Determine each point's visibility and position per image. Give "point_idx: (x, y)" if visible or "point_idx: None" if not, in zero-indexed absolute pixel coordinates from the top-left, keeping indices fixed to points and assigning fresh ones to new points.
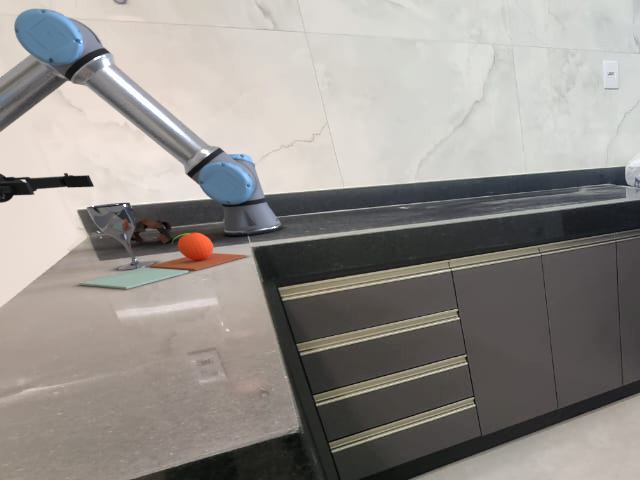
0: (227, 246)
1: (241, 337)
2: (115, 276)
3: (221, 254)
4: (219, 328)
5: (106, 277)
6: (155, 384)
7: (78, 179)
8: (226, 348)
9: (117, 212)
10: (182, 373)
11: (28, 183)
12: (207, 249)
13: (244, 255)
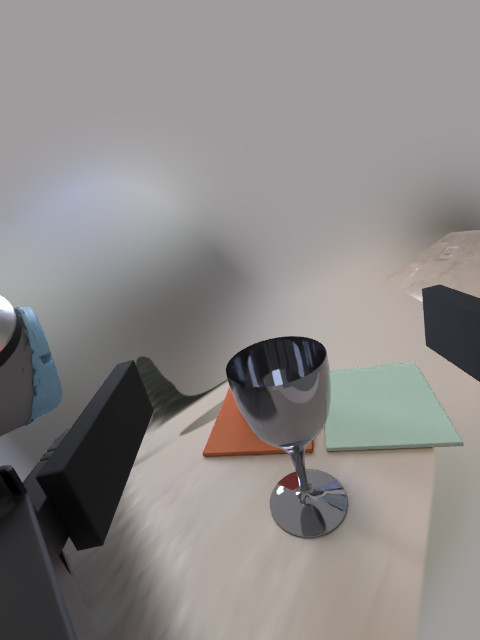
0: None
1: (418, 263)
2: (394, 427)
3: (223, 411)
4: (418, 271)
5: (408, 435)
6: (474, 248)
7: (124, 406)
8: (431, 258)
9: (292, 351)
10: (460, 251)
11: (425, 293)
12: None
13: None
